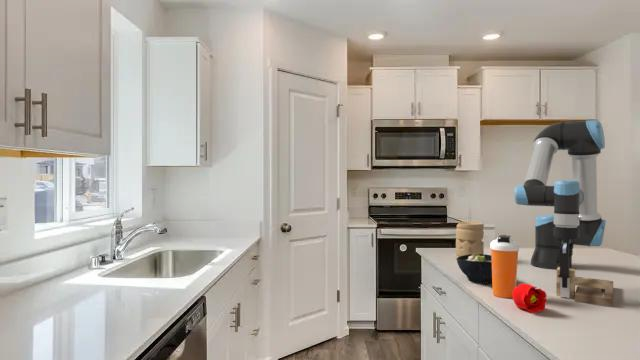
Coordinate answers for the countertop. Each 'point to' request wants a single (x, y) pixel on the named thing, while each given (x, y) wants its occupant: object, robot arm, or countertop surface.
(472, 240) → the container
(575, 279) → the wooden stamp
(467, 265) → the bowl
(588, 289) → the plank
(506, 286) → the shaker bottle
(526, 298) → the flower
